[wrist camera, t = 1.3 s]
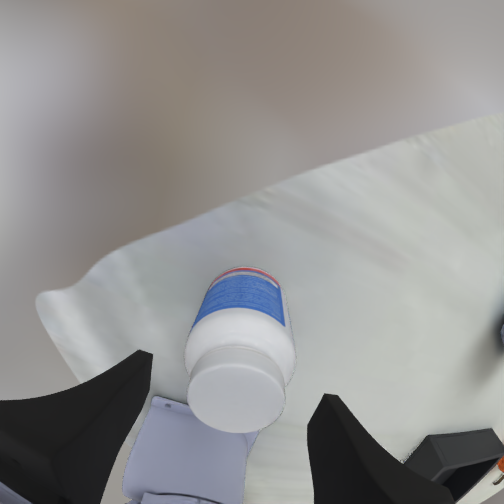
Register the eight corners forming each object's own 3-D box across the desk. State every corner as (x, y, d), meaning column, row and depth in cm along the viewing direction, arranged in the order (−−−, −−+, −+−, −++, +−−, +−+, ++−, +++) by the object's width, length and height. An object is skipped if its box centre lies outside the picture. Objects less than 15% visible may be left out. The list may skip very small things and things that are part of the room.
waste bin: (373, 495, 27) (380, 523, 22) (427, 435, 24) (443, 466, 19) (440, 485, 27) (450, 508, 22) (491, 427, 24) (507, 451, 19)
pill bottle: (191, 286, 20) (141, 372, 11) (263, 250, 19) (263, 321, 10) (231, 348, 21) (213, 453, 12) (299, 318, 21) (322, 419, 11)
